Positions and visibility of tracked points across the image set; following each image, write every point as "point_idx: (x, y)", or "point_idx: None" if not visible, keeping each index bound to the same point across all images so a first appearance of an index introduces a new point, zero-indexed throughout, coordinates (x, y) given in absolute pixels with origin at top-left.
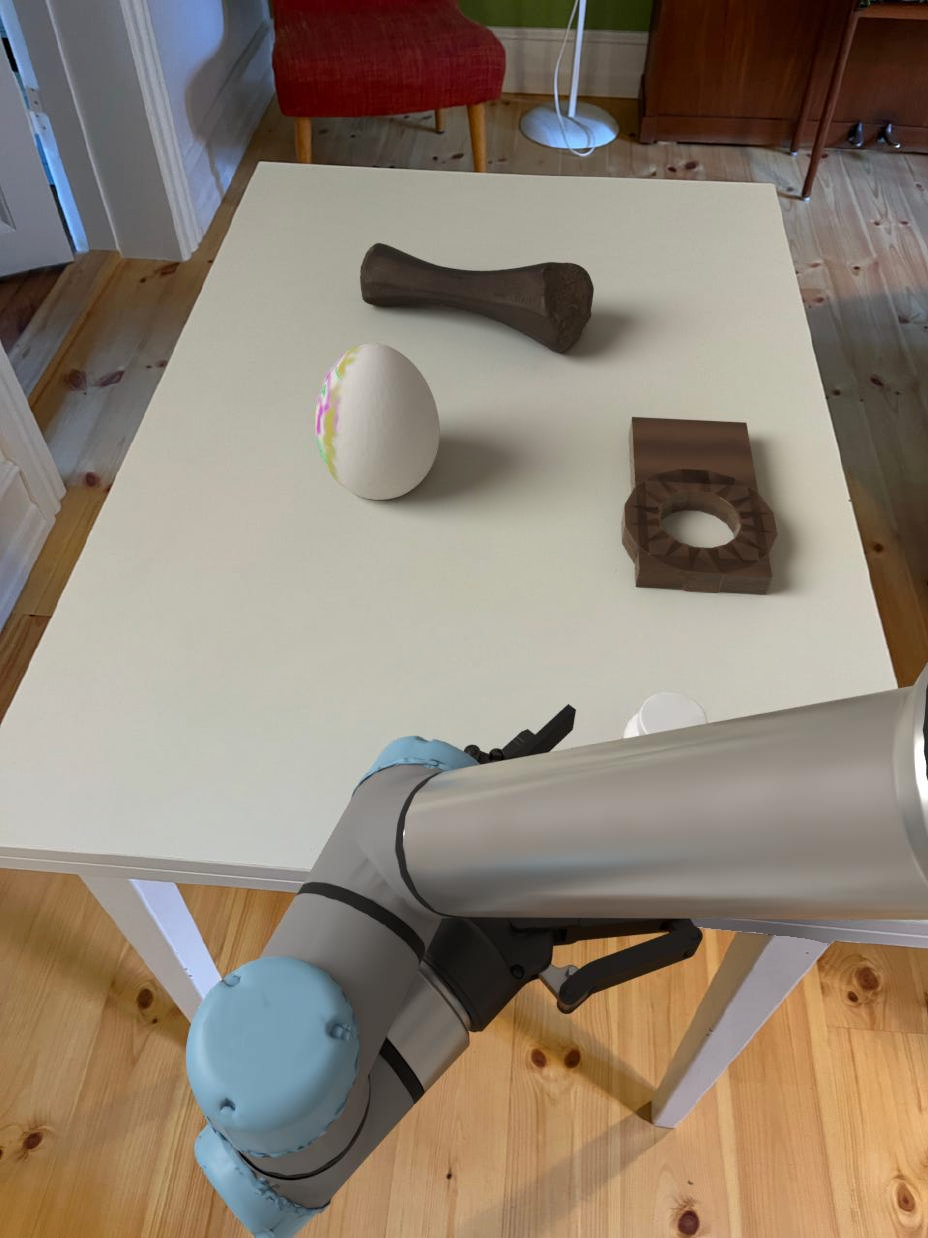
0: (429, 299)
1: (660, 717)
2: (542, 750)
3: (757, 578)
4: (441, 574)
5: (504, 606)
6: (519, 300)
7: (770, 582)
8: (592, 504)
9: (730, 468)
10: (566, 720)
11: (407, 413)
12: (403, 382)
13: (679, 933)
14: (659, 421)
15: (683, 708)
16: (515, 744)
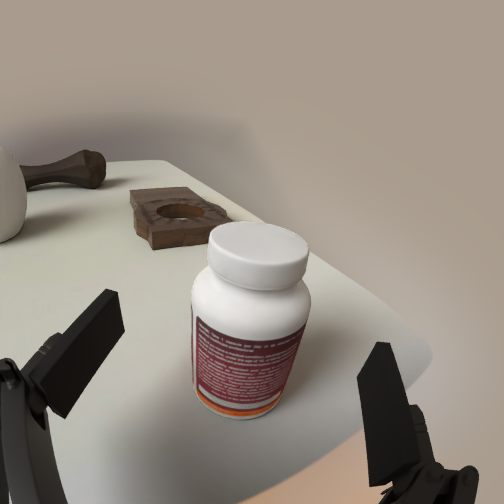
0: (37, 179)
1: (242, 240)
2: (85, 359)
3: None
4: (21, 268)
5: (61, 277)
6: (73, 163)
7: None
8: (115, 224)
9: (187, 196)
10: (107, 308)
11: (4, 172)
12: (4, 156)
13: (459, 492)
14: (144, 189)
15: (262, 229)
16: (42, 355)
